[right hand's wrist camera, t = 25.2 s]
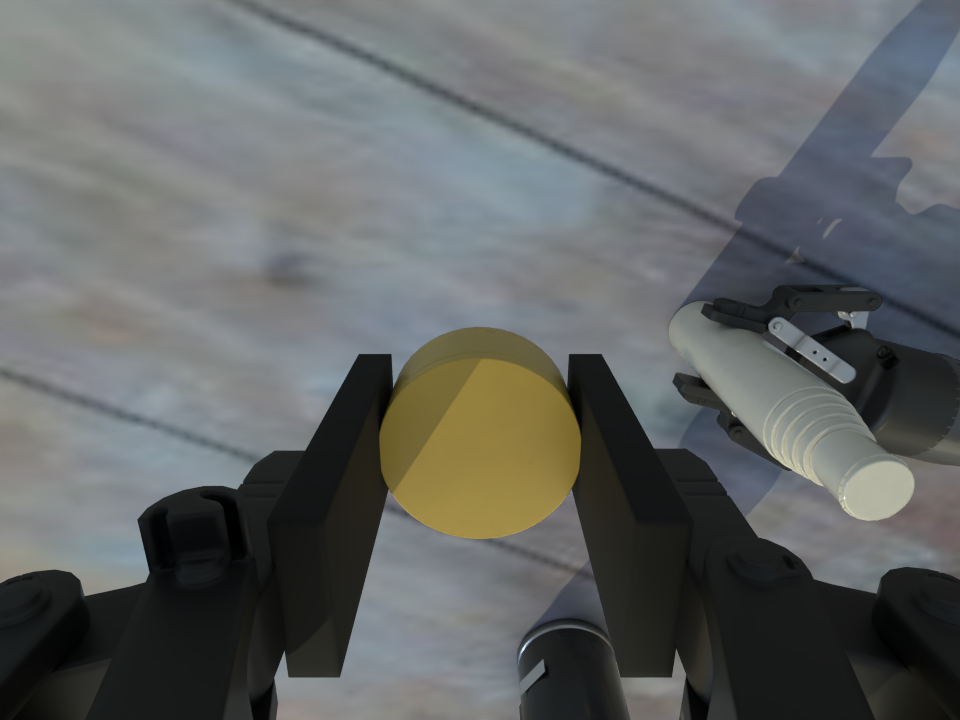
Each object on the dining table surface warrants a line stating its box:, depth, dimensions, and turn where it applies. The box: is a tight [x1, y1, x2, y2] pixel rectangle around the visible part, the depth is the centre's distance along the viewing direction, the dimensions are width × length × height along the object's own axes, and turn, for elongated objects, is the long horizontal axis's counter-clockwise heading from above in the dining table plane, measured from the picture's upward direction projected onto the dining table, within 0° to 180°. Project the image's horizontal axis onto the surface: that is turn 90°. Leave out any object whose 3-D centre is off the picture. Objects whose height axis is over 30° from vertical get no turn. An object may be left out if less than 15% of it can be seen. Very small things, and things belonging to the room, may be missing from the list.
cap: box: [379, 327, 581, 539], centre depth 13 cm, size 4×4×2 cm
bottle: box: [669, 301, 915, 521], centre depth 37 cm, size 5×5×23 cm
